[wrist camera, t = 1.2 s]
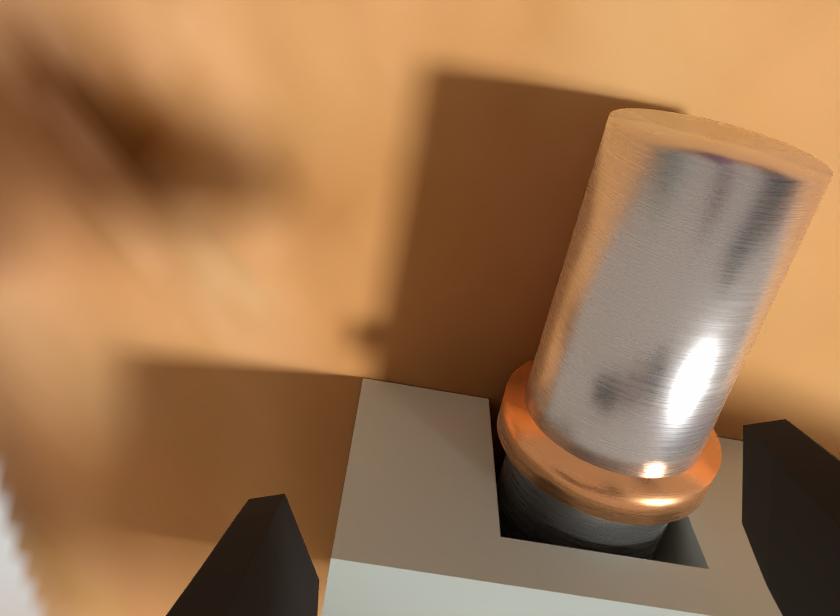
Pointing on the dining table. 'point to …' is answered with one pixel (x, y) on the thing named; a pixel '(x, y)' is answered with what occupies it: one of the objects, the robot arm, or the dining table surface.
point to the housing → (504, 557)
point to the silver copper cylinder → (649, 329)
